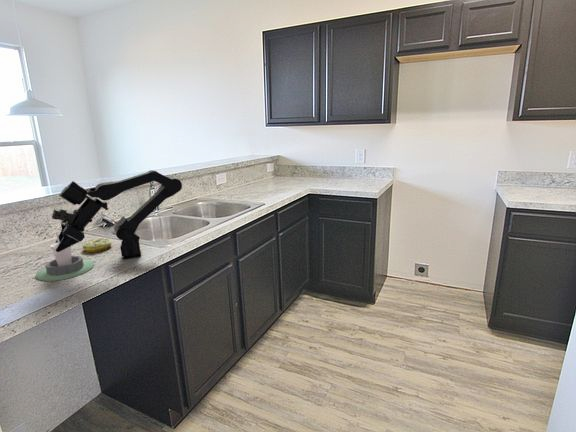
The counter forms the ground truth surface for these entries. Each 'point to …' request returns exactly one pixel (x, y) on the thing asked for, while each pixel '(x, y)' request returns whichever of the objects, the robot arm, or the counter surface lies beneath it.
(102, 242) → the decorated donut
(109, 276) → the counter surface
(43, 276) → the putting green cup
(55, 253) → the smoothie
